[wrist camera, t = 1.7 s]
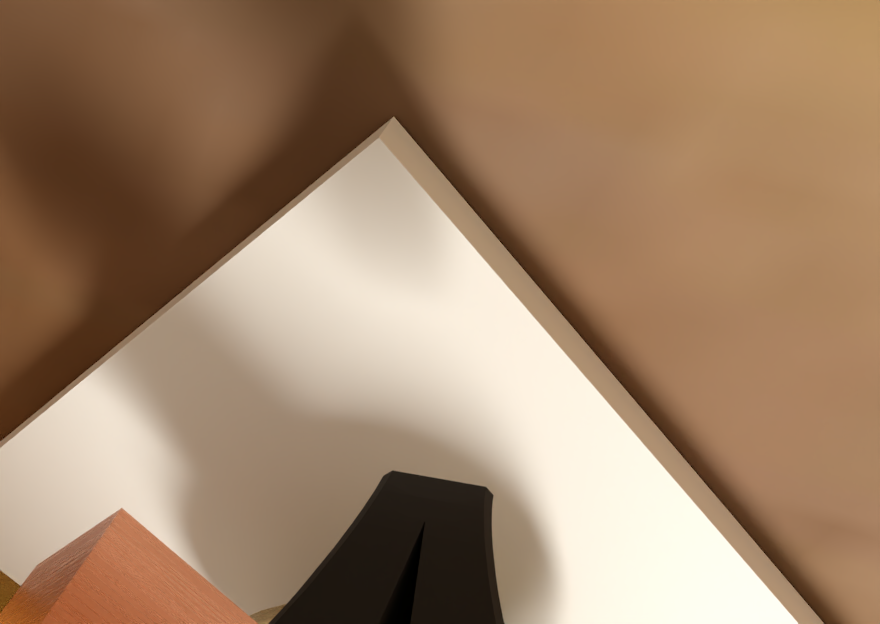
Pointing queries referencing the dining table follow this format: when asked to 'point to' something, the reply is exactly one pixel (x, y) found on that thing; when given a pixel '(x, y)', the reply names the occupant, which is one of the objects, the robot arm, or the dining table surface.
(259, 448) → the board
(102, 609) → the lever handle
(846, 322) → the dining table surface
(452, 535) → the robot arm
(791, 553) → the dining table surface
